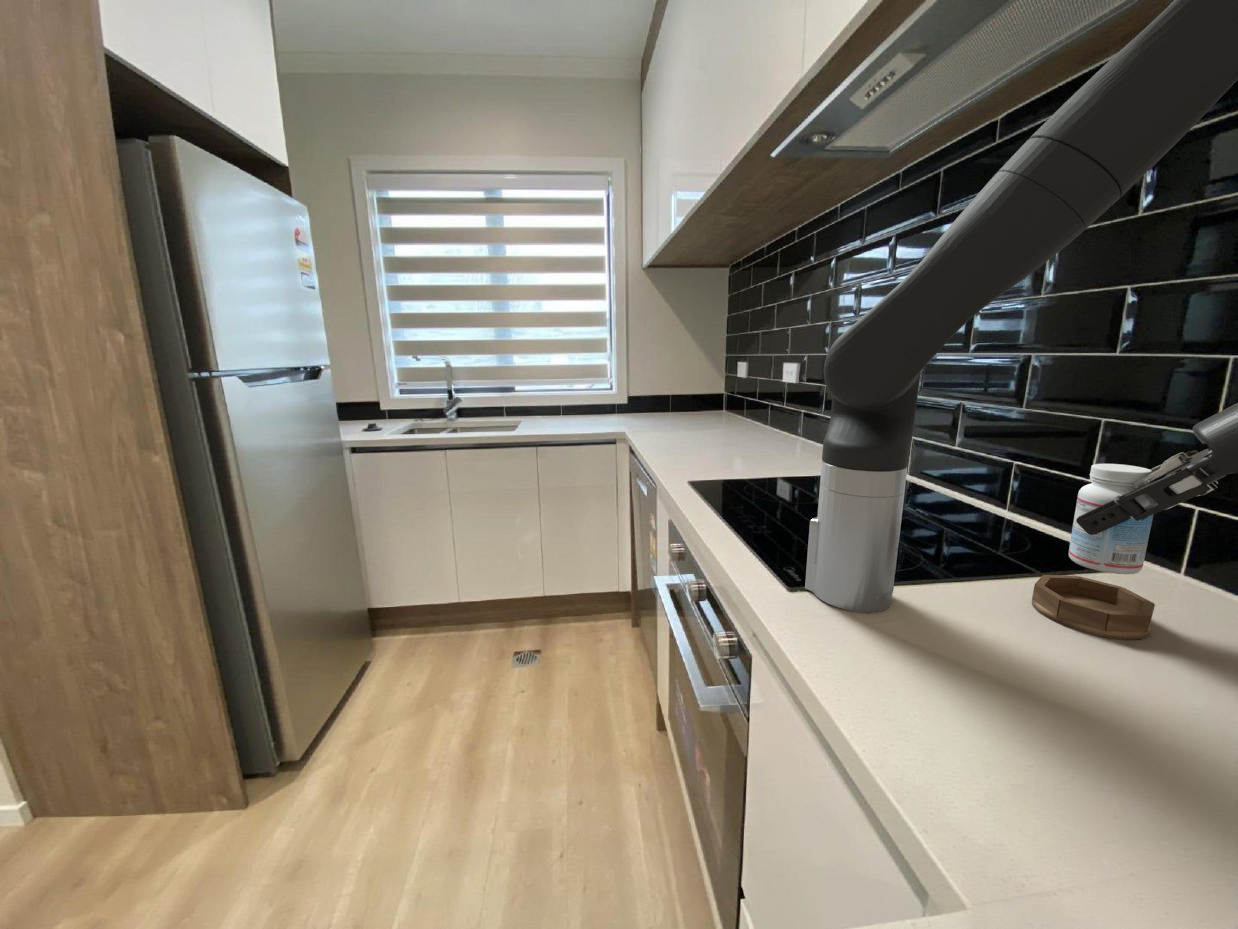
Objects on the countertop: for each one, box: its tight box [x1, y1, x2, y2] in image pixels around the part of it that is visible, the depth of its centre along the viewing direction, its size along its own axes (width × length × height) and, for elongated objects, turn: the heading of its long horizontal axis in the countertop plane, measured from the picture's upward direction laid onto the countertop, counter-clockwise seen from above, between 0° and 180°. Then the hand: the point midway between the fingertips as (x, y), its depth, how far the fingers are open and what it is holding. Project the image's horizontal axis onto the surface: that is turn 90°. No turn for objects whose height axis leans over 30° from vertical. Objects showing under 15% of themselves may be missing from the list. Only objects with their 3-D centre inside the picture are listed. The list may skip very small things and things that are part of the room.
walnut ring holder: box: [1031, 574, 1156, 641], centre depth 57 cm, size 10×10×3 cm
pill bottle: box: [1068, 463, 1155, 575], centre depth 54 cm, size 6×6×11 cm
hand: (1089, 520), depth 56 cm, fingers closed on pill bottle, 6 cm apart
